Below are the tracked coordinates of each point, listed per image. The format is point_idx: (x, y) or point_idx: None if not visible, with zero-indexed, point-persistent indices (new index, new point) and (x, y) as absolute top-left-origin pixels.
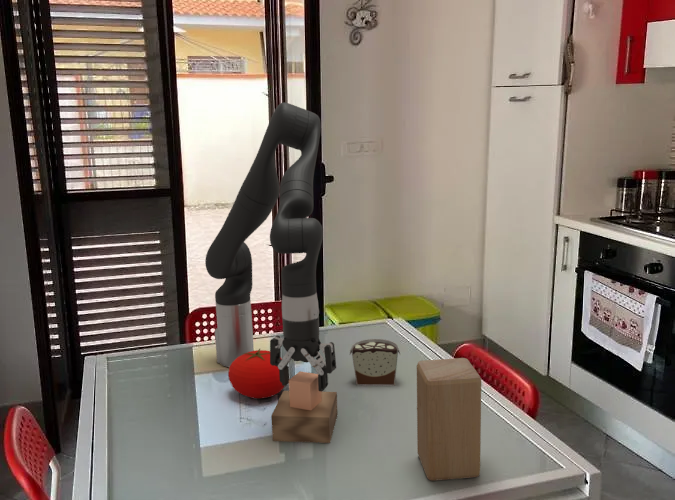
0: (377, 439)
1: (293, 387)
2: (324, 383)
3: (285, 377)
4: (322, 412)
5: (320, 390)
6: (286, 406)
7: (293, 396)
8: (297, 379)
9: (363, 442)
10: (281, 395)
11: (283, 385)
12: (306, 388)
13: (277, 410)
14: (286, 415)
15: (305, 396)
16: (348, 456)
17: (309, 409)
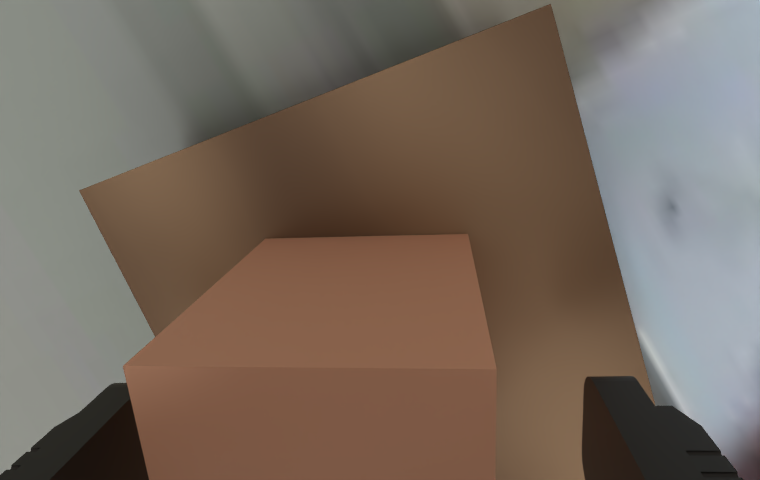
0: (6, 286)
1: (416, 319)
2: (27, 459)
3: (622, 470)
4: (171, 245)
5: (124, 385)
6: (501, 228)
7: (423, 270)
8: (375, 432)
9: (43, 234)
10: (646, 390)
11: (611, 377)
12: (217, 324)
13: (544, 129)
14: (411, 73)
15: (276, 283)
16: (19, 68)
17: (277, 239)
